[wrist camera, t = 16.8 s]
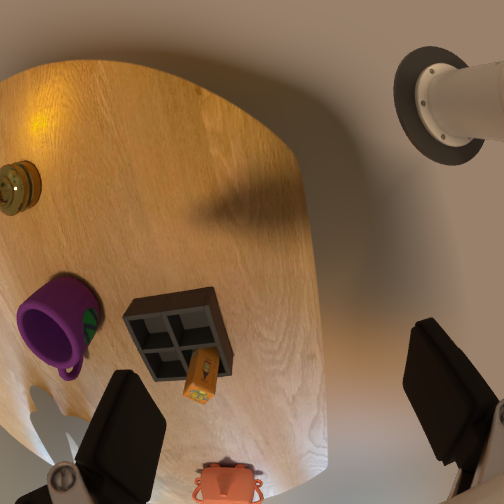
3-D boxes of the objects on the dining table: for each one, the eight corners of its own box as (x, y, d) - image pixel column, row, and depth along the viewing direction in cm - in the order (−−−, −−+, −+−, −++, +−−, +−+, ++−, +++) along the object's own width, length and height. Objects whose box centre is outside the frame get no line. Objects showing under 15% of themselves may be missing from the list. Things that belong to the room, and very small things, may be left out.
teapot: (225, 451, 55) (222, 498, 43) (273, 472, 59) (275, 512, 48) (185, 466, 59) (179, 506, 47) (232, 485, 63) (231, 522, 51)
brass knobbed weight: (7, 166, 32) (-37, 179, 23) (38, 155, 32) (-9, 165, 23) (15, 211, 35) (-27, 231, 26) (45, 204, 35) (2, 224, 25)
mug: (43, 265, 38) (7, 294, 29) (101, 276, 39) (68, 312, 29) (62, 349, 44) (38, 384, 35) (114, 364, 45) (94, 404, 36)
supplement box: (191, 346, 42) (179, 395, 33) (203, 332, 41) (193, 381, 32) (210, 356, 43) (203, 406, 33) (223, 343, 42) (217, 393, 32)
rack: (213, 286, 39) (208, 305, 35) (233, 354, 44) (231, 375, 39) (133, 298, 40) (122, 316, 36) (161, 361, 44) (154, 381, 40)
